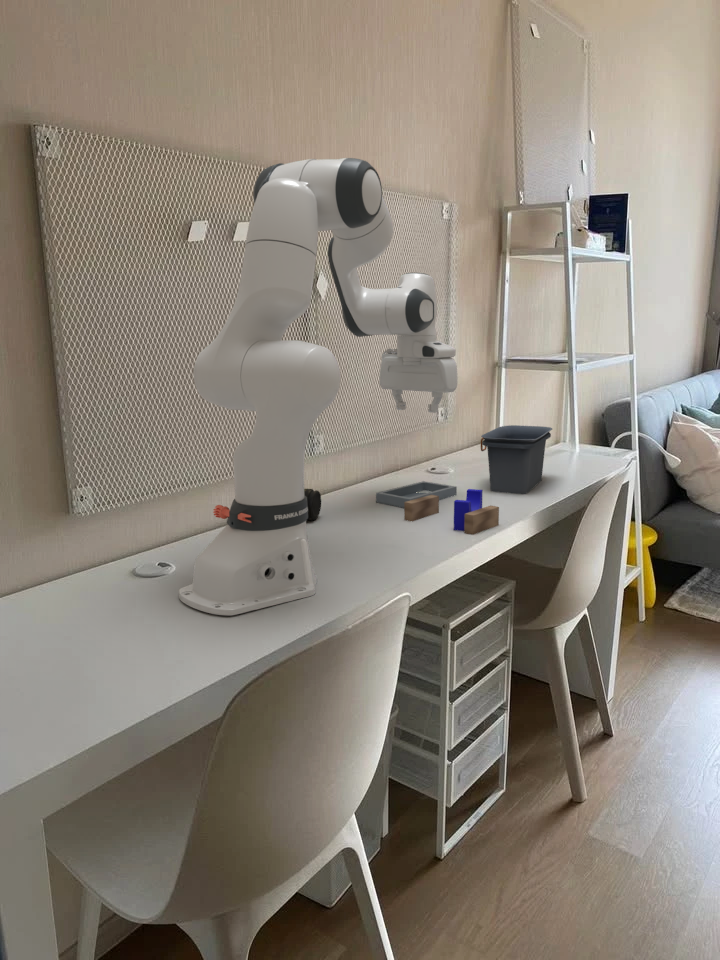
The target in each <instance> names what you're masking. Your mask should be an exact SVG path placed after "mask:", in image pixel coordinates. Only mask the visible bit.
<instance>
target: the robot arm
mask: <svg viewBox="0 0 720 960" xmlns="http://www.w3.org/2000/svg"><path fill="white" fill-rule="evenodd" d="M382 188H383V187H382V182H381V177H380V176H379V173H378V172H377V170H376V169H375V167H373V165H371V163H369V161H368V160H364V159H360V158H353V157H344V158H343V157H342V158H338V159H337V158H335V159H334V158H333V159H332V158H324V159H323V158H322V159H321V158H320V159H317V158H308V159H303V160H297V161H292V162H288V163H287V162H286V163H281V162H280V163H276V164H272V165H270V166H267V167H265V168H264V169H262V171H260V173H259V174H258V177H257V178H256V180H255V182H254V187H253V193H252V194H253V195H252V196H253V198H252V199H253V204H254V205H253V208H252V211H251V215H250V218H249V221H248V226H247V231H246V238H245V244H244V245H245V246H244V252H243V253H244V254H243V261H242V266H241V267H242V268H241V273H240V280H239V284H238V285H239V286H238V291H237V294H236V298H235V301H234V304H233V306H232V309H231V311H230V313H229V315H228V317H227V319H226V321H225V323H224V325H223V326H222V328H221V330H220V331H219V333H218V334H217V336H216V337H215V338H214V339H213V341H212V342H210V343H209V344H208V345H207V346H206V347H204V348H203V349H202V350H201V351H200V352H199V354H198V355H197V357H196V359H195V361H194V362H195V363H194V366H193V374H192V376H193V381H194V386H195V389H196V391H197V393H198V395H200V397H201V398H202V399H204V401H206V402H208V403H211V404H213V405H215V406H218V407H222V408H224V409H228V410H233V411H247V412H248V411H249V412H256V413H255V417H256V418H255V423H254V427H253V430H252V432H251V434H250V436H249V437H247V438H246V439H244V440H243V441H241V442H240V443H239V444H238V445H237V447H236V448H235V450H234V451H233V456H232V463H233V465H232V466H233V484H234V499H232V503H231V506H230V508H229V507H228V506H223V505H221V504H218V505H215V506H214V509H213V511H212V512H213V516H215V518H219V519H222V520H226V524H227V525H226V526H224V528H223V529H222V530H221V531H220V532H219V533H218V534H217V535H216V536H215V537H214V538H213V540H211V542H209V544H207V546H206V547H205V548H204V549H203V550H202V551H201V552H200V553H199V554H198V555H197V556H196V558H195V560H194V564H193V565H194V566H193V572H192V573H193V575H192V583H190V584H188V585H186V586H183V587H181V588H179V589H178V599H179V600H180V601H181V602H182V603H184V604H185V605H187V606H188V607H191V608H193V609H195V610H198V611H201V612H203V613H207V614H208V613H209V614H212V615H219V616H237V615H239V614H244V613H248V612H252V611H256V610H260V609H263V608H264V609H265V608H267V607H272V606H275V605H276V606H277V605H279V604H285V603H288V602H292V601H296V600H299V599H303V598H308V597H311V596H314V595H315V594H316V584H317V582H318V577H317V573H316V572H315V569H314V565H313V560H312V556H311V551H310V544H309V537H308V530H307V521H308V520H307V519H308V505H307V497H306V496H305V495H304V489H305V452H306V446H307V443H308V442H307V441H308V439H309V435H310V433H311V431H312V427H313V426H314V424H315V422H316V421H317V419H318V418H319V416H320V415H321V414H322V412H324V411H325V410H326V409H327V408H329V407H330V406H331V405H332V404H333V403H334V401H335V399H336V397H337V396H338V393H339V390H340V387H341V379H342V377H341V369H340V365H339V363H338V360H337V358H336V357H335V356H336V355H334V354H333V352H332V351H331V350H330V349H329V348H328V347H325V346H323V345H320V344H315V343H312V342H308V341H303V340H297V339H295V340H294V339H290V340H289V339H287V340H286V339H283V338H284V337H283V336H284V335H285V333H286V331H287V330H288V328H289V327H290V326H291V325H292V324H293V323H294V322H295V321H296V320H297V319H299V318H300V317H301V316H303V315H304V314H305V313H306V312H307V310H308V309H309V307H310V304H311V300H312V291H313V285H314V277H315V276H314V275H315V270H316V269H315V268H316V261H317V253H318V241H319V240H318V239H319V232H328V231H331V233H332V235H333V236H332V237H331V238H330V240H329V243H328V245H327V246H328V249H327V258H328V264H329V269H330V271H331V272H330V273H331V276H332V279H333V282H334V285H335V289H336V291H337V296H338V298H339V302H340V305H341V312H342V320H343V322H344V326H345V327H346V328H347V330H349V332H350V333H352V334H353V335H354V336H355V337H358V338H360V337H363V338H364V337H370V336H380V335H381V336H387V335H389V336H390V335H391V336H395V335H396V348H387V349H385V350H384V351H383V353H382V354H381V362H380V367H379V368H380V369H379V379H378V380H379V386H380V388H381V390H382V389H383V390H391V395H392V397H393V399H394V401H395V408H396V410H399V411H404V410H406V409H407V406H406V405H407V402H406V401H404V400H403V398H402V394H403V391H413V392H426V393H427V392H429V393H431V398H432V402H431V403H430V404H427V407H428V409H427V410H428V411H427V412H428V413H432V414H434V413H435V414H436V413H438V412H439V405H440V403H441V401H442V399H443V396H444V395H443V394H444V393H447V394H448V393H454V392H455V390H457V388H458V365H457V362H456V360H455V359H454V357H455V356H456V353H457V352H456V348H455V347H454V346H452V345H449V344H448V343H444V342H442V341H441V340H438V339H437V337H438V336H437V335H438V334H437V328H436V319H437V315H438V311H437V310H438V301H437V300H438V299H437V291H436V283H435V280H434V279H435V278H433V276H431V275H430V274H427V273H424V272H423V273H422V272H406V273H404V274H401V276H400V277H399V281H398V286H397V287H393V288H392V287H391V288H368V287H366V286H363V285H362V284H361V280H360V277H359V272H358V268H360V267H362V266H365V265H368V264H370V263H372V262H374V261H375V260H377V259H379V258H380V257H381V256H382V255H383V254H384V253H385V251H386V250H387V249H388V247H389V245H390V244H391V241H392V239H393V236H394V235H393V234H394V224H393V219H392V215H391V212H390V210H389V207H388V205H387V204H386V201H385V199H384V196H383V189H382ZM282 339H283V340H282Z"/></svg>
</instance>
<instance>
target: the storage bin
mask: <svg viewBox="0 0 720 960" xmlns="http://www.w3.org/2000/svg"><path fill="white" fill-rule="evenodd" d="M552 430H553V427H550V426H538V425H537V426H535V425H516V424H515V425H510V424H509V425H502V426H499V427H497V428H496V427H495V428H494V429H492V430H490V431H488V432H485V433H484V434H482V435H481V439H480V451H481V452H485V451H486V450H487V459H488V471H489V483H490V485H489V486H490V492H492V493H506V494H516V495H527V494H528V493H529V492H531V491H532V490H533V489H534V488H535V487H536V486H537V485H538V484H539V483H540V482H541V481H542V479H543V472H544V471H543V470H544V469H543V468H544V459H545V451H546V443H547V440H549V439H550V438H551V437H552V435H551V434H552V433H550V432H551V431H552ZM483 446H484V447H483Z"/></svg>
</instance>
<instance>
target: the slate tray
mask: <svg viewBox="0 0 720 960" xmlns="http://www.w3.org/2000/svg"><path fill="white" fill-rule="evenodd" d="M457 488H458V487H457V486H456V485H450V484H449V485H448V484H444V483H442V484H441V483H437V482H436V483H435V482H431V481H424V480H422V481H418V482H415V483H414V482H413V483H411V484H406V485H402V486H399V487H394V488H389V489H386V490H382V491H378V492H375V503H376V504H377V503H378V504H380V505H381V504H382V505H386V506H390V507H396V508H401V509H404V502H407V501H410V500H414V499H418V498H421V497H425V496H429V495H436V496H439V501H443V500H444V499H445V500H446V499H448V498H451V496H452V497H455V496H457V491H458V490H457ZM423 491H426V492H423ZM416 492H418V493H416ZM419 492H420V493H419ZM454 495H455V496H454Z"/></svg>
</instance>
